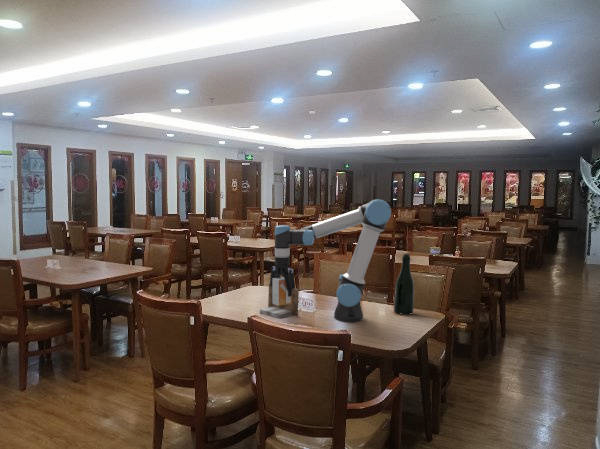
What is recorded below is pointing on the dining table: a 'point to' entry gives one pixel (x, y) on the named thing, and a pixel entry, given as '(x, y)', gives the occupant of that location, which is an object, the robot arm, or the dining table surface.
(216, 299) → the dining table surface
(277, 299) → the small box
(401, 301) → the beer bottle
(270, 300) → the wall board
